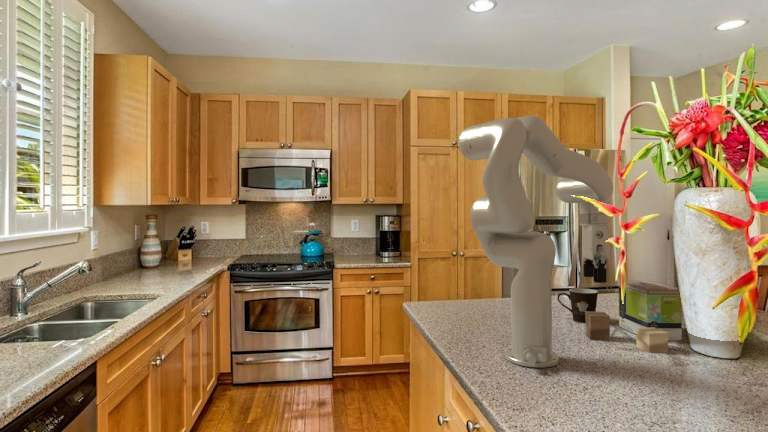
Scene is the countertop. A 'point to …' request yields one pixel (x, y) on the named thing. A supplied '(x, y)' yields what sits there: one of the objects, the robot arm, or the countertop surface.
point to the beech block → (652, 339)
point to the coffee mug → (581, 302)
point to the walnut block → (597, 326)
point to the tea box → (651, 308)
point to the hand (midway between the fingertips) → (594, 279)
